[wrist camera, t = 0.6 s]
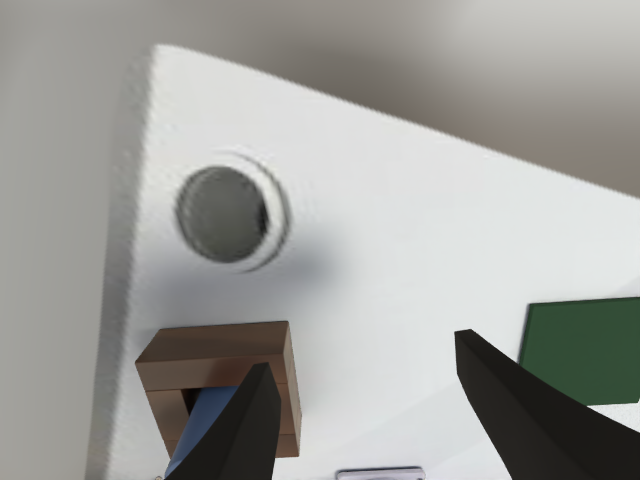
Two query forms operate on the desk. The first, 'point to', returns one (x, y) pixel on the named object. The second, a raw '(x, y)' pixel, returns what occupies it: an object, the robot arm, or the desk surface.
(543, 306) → the mat
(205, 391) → the peg
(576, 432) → the robot arm
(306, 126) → the desk surface
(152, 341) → the holder
